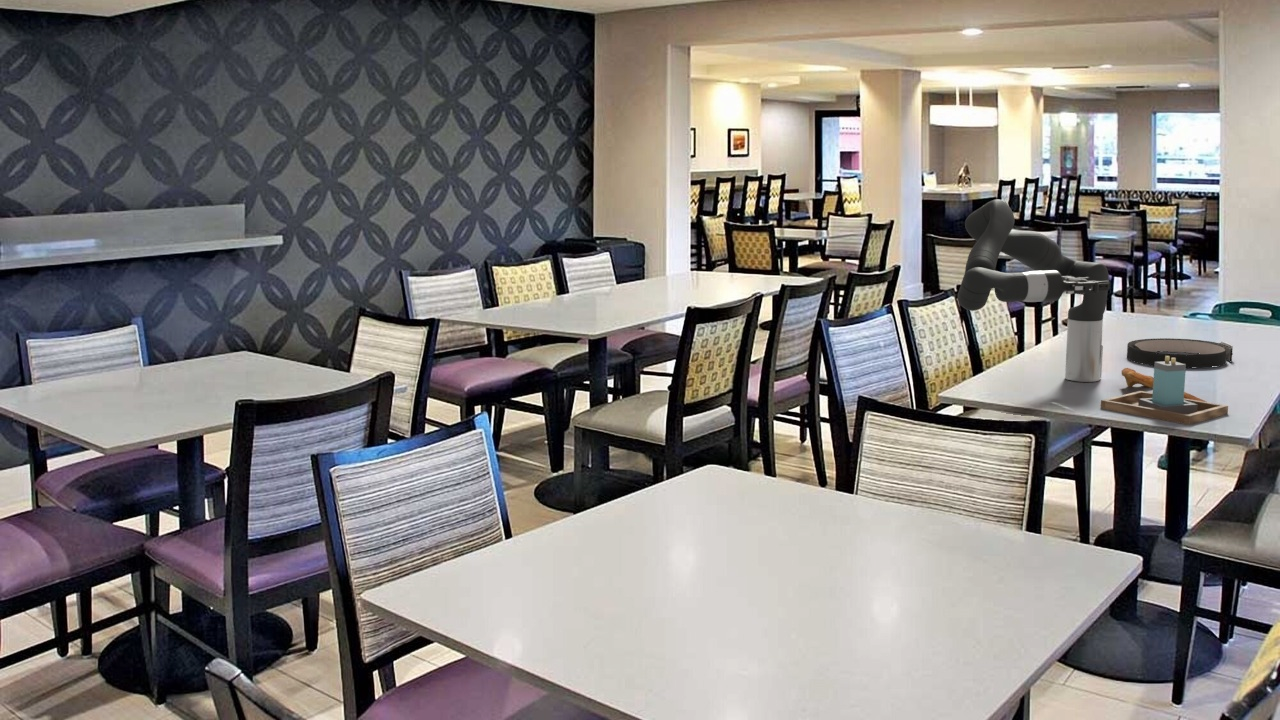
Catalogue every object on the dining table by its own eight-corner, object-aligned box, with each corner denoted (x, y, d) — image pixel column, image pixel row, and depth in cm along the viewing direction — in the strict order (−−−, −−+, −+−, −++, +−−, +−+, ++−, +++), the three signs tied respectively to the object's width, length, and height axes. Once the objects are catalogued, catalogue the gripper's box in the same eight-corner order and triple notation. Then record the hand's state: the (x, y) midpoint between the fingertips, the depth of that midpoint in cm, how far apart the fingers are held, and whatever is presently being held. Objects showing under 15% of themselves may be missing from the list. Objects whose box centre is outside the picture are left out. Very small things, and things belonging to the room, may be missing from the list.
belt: (1252, 368, 336) (1253, 351, 335) (1150, 370, 336) (1151, 353, 335) (1205, 351, 365) (1206, 335, 364) (1111, 353, 365) (1112, 337, 364)
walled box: (1139, 400, 296) (1140, 390, 296) (1227, 415, 278) (1228, 405, 277) (1100, 409, 287) (1101, 400, 286) (1188, 426, 268) (1189, 416, 268)
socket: (1138, 408, 285) (1138, 398, 285) (1172, 406, 287) (1173, 396, 286) (1161, 416, 276) (1162, 406, 275) (1197, 414, 277) (1197, 404, 277)
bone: (1218, 413, 283) (1203, 379, 281) (1187, 429, 284) (1172, 395, 282) (1151, 382, 316) (1137, 351, 313) (1124, 396, 316) (1110, 365, 314)
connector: (1151, 409, 283) (1154, 356, 281) (1169, 408, 284) (1173, 354, 282) (1164, 414, 278) (1167, 359, 276) (1182, 412, 279) (1186, 358, 277)
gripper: (1054, 273, 270) (1117, 271, 273) (1024, 267, 284) (1084, 265, 286) (1053, 305, 271) (1115, 302, 274) (1023, 297, 285) (1082, 295, 288)
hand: (1099, 283), depth 280 cm, fingers open, 8 cm apart
